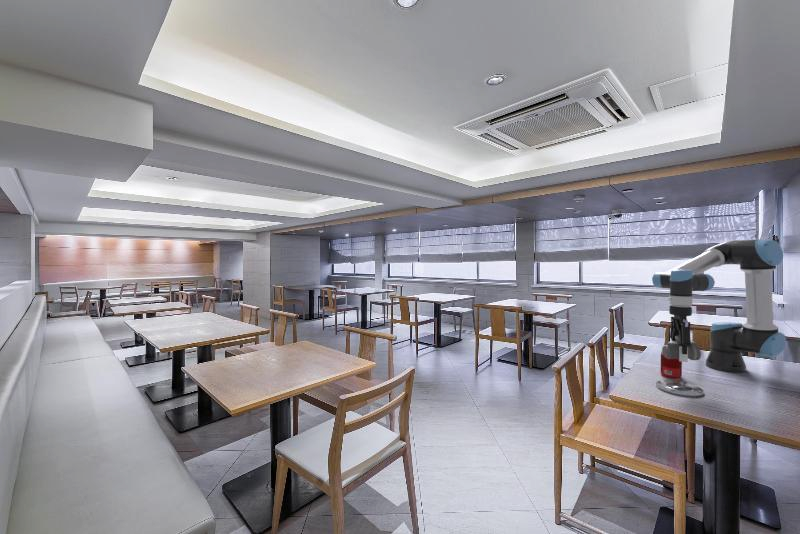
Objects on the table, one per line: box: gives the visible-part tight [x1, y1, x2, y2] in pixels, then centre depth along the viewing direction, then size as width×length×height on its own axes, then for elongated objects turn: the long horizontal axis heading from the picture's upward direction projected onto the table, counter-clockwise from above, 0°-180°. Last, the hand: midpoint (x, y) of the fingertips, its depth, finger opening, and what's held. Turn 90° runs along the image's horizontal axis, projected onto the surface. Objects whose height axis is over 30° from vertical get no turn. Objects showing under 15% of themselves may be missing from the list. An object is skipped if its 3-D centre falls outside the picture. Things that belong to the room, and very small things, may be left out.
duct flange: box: [655, 379, 704, 398], centre depth 151 cm, size 16×16×2 cm
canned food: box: [660, 351, 683, 380], centre depth 167 cm, size 8×8×11 cm
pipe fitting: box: [661, 335, 702, 361], centre depth 150 cm, size 12×8×10 cm
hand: (679, 358), depth 150 cm, fingers closed on pipe fitting, 8 cm apart
